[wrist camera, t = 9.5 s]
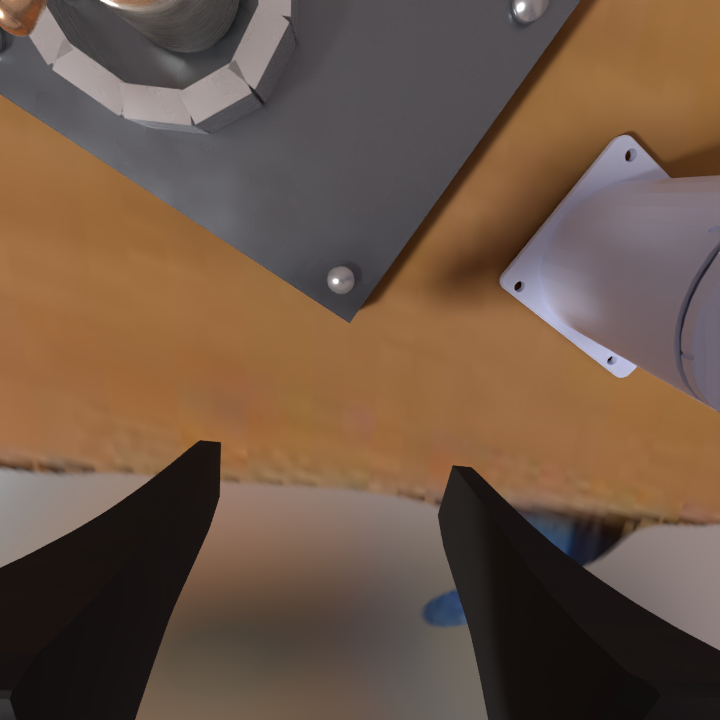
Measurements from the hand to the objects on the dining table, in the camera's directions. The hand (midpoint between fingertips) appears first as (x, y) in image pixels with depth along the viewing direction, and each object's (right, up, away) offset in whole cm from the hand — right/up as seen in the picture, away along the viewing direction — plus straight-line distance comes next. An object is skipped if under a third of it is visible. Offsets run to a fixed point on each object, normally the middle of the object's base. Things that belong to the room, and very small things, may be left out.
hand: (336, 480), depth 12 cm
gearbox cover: (-3, +16, +3) cm, 17 cm away
